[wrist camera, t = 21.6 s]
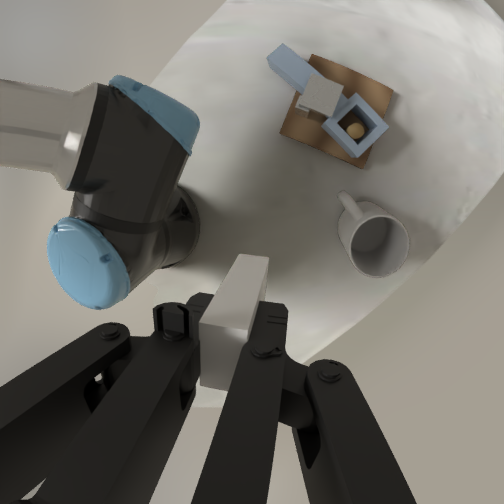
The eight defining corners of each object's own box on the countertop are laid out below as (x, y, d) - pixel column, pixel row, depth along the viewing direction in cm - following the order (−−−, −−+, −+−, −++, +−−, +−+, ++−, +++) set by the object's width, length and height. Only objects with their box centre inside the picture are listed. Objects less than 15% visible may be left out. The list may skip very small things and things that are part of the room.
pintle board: (280, 133, 42) (276, 129, 35) (311, 56, 38) (313, 39, 31) (361, 168, 42) (372, 171, 35) (390, 92, 37) (406, 81, 30)
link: (379, 130, 38) (389, 127, 34) (351, 157, 41) (358, 157, 36) (291, 48, 36) (290, 36, 32) (262, 74, 38) (258, 65, 34)
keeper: (295, 114, 40) (294, 105, 33) (306, 85, 38) (308, 71, 31) (325, 126, 40) (330, 119, 33) (336, 97, 38) (343, 86, 31)
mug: (396, 232, 44) (421, 253, 34) (356, 262, 47) (370, 291, 37) (356, 172, 43) (373, 176, 32) (313, 204, 45) (318, 218, 35)
